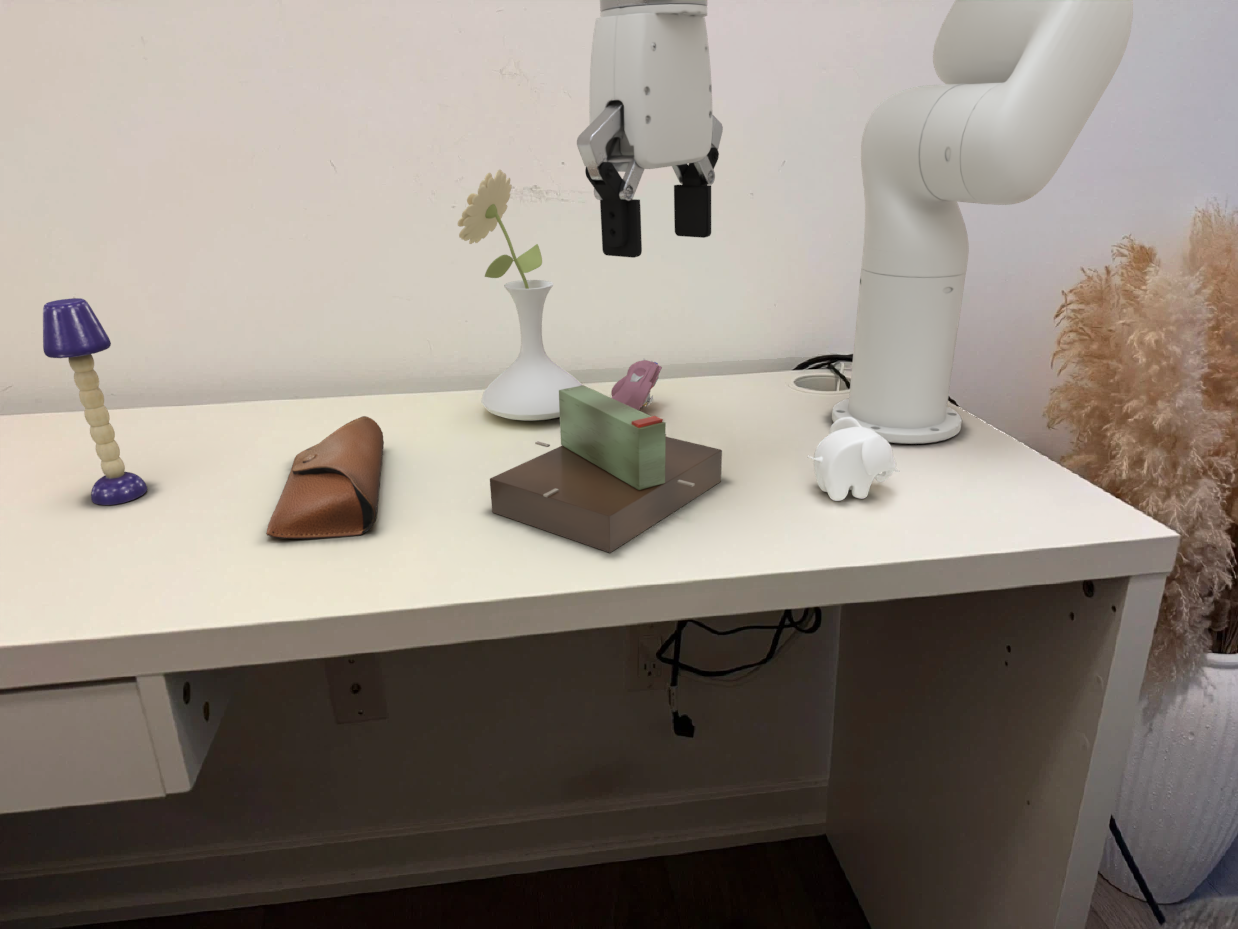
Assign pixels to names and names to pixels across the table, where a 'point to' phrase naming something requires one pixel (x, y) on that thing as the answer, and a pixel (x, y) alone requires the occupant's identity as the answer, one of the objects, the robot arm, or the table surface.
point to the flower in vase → (533, 374)
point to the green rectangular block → (613, 436)
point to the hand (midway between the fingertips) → (659, 245)
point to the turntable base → (600, 493)
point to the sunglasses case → (332, 486)
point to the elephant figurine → (852, 459)
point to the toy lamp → (90, 391)
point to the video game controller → (637, 384)
